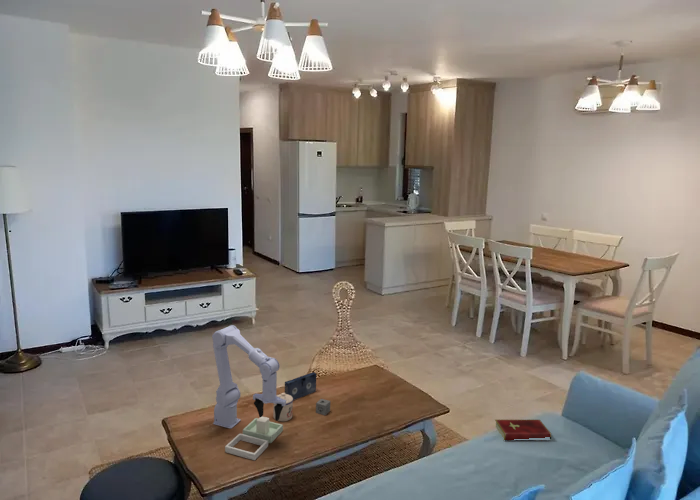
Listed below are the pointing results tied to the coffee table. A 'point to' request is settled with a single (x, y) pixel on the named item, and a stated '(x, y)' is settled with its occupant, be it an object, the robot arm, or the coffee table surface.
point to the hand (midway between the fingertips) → (269, 417)
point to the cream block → (262, 425)
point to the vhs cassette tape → (301, 386)
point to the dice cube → (323, 406)
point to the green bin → (270, 436)
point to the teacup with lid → (285, 407)
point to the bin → (243, 453)
